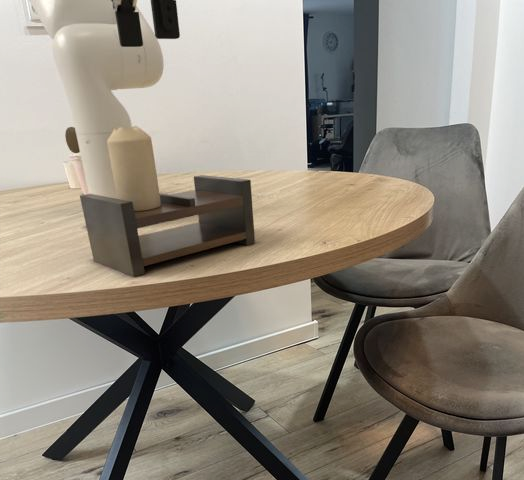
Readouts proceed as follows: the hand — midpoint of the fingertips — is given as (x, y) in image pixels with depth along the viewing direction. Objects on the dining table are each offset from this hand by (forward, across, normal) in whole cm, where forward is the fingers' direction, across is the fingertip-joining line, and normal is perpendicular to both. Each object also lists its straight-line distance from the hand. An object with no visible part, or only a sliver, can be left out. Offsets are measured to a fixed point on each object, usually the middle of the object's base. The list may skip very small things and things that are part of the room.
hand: (149, 42), depth 66 cm
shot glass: (+28, -82, +17) cm, 89 cm away
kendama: (+28, -53, +11) cm, 61 cm away
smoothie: (+28, -66, +13) cm, 73 cm away
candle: (+20, +4, -7) cm, 21 cm away
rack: (+26, +4, -2) cm, 27 cm away
